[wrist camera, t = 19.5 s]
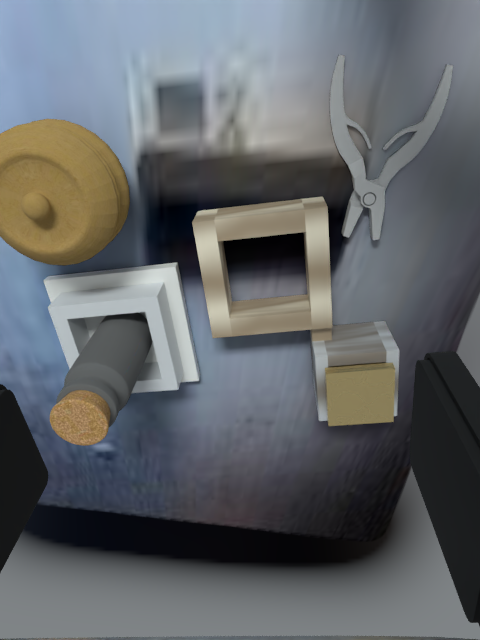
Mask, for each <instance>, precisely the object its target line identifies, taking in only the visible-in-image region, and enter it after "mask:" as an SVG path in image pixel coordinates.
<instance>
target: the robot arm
mask: <svg viewBox="0 0 480 640" xmlns="http://www.w3.org/2000/svg"><path fill="white" fill-rule="evenodd" d="M410 461H411V466H412V469H413V472H414V475H415V477H416V480H417V483H418V486H419V488H420V491H421V494H422V497H423V499H424V502H425V505H426V508H427V510H428V513H429V516H430V519H431V521H432V524H433V527H434V530H435V532H436V535H437V538H438V541H439V544H440V546H441V549H442V552H443V554H444V557H445V560H446V563H447V566H448V568H449V571H450V574H451V577H452V579H453V582H454V585H455V587H456V590H457V593H458V596H459V599H460V601H461V604H462V607H463V610H464V612H465V615H466V617H467V619H468V621H469V622H471V623H476V622H478V623H479V626H480V387H479V386H478V384H477V383H476V382H475V380H474V378H473V377H472V376H471V374H470V373H469V371H468V369H467V368H466V366H465V365H464V363H463V362H462V360H461V359H460V358H459V356H458V354H457V353H456V352H454V351H449V352H435V353H427V354H426V355H425V358H424V360H418V361H417V363H416V369H415V383H414V398H413V412H412V426H411V440H410ZM47 481H48V471H47V468H46V466H45V464H44V461H43V459H42V457H41V455H40V452H39V450H38V448H37V446H36V443H35V441H34V439H33V437H32V434H31V432H30V430H29V428H28V425H27V423H26V421H25V419H24V416H23V414H22V412H21V410H20V407H19V405H18V403H17V401H16V398H15V396H14V394H13V392H12V391H10V390H7V389H6V387H5V386H3V385H1V384H0V572H1V570H2V569H3V567H4V565H5V563H6V561H7V559H8V557H9V555H10V553H11V551H12V550H13V548H14V546H15V544H16V542H17V540H18V538H19V536H20V534H21V533H22V531H23V529H24V527H25V525H26V523H27V521H28V519H29V517H30V515H31V514H32V512H33V510H34V508H35V506H36V504H37V502H38V500H39V499H40V497H41V495H42V493H43V491H44V489H45V487H46V485H47ZM0 640H476V639H460V638H444V637H399V636H392V637H391V636H213V637H212V636H209V637H208V636H207V637H205V636H204V637H111V638H110V637H109V638H107V637H106V638H31V639H30V638H29V639H0Z"/></svg>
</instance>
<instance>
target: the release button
mask: <svg viewBox="0 0 480 640" xmlns="http://www.w3.org/2000/svg"><path fill="white" fill-rule="evenodd" d="M325 383H326V403H327V420H328V426H339V425H354V424H369V423H384V422H394V392H395V367H394V364H393V363H382V362H378V363H365V364H353V365H340V366H328V368H325Z"/></svg>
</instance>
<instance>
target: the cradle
mask: <svg viewBox="0 0 480 640" xmlns="http://www.w3.org/2000/svg"><path fill="white" fill-rule="evenodd" d="M44 284H45V287H46V289H47V292H48V295H49V298H50V301H51V304H50V305H49V306H48V309H49V312H50V315H51V318H52V321H53V323H54V326H55V329H56V332H57V335H58V337H59V340H60V343H61V346H62V349H63V351H64V354H65V357H66V360H67V363H68V365H69V368H71V367H72V365H73V364H74V362H75V361H76V359H77V358H78V356H79V355H80V353H81V352H82V350H83V349H84V347H85V346H86V344H87V343H88V341H89V340H90V338H91V337H92V335H93V333H94V332H95V331H96V329H97V328H98V326H99V325H100V323H101V322H102V320H103V319H104V318H105V317H106V316H107V315H116V314H127V313H137V312H138V313H140V314H142V315H143V316H144V317H145V318H146V319H147V321H148V325H149V329H150V333H151V337H152V341H153V342H152V345H151V348H150V350H149V353H148V355H147V358H146V360H145V362H144V365H143V367H142V369H141V372H140V374H139V377H138V379H137V381H136V384H135V386H134V388H133V391H132V393H141V392H154V391H167V390H179V386H180V383H181V382H191V381H199V378H200V372H199V367H198V362H197V357H196V352H195V347H194V342H193V337H192V332H191V327H190V322H189V317H188V312H187V307H186V302H185V297H184V292H183V287H182V282H181V277H180V272H179V267H178V263H168V264H159V265H149V266H140V267H130V268H121V269H111V270H102V271H92V272H83V273H74V274H64V275H55V276H48V277H47V278H46V279H45V280H44Z"/></svg>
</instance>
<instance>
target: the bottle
mask: <svg viewBox="0 0 480 640" xmlns="http://www.w3.org/2000/svg"><path fill="white" fill-rule="evenodd" d="M152 342H153V341H152V337H151V333H150V329H149V325H148V321H147V319H146V318H145V317H144V316H143V315H142V314H140V313H138V312H137V313H127V314H116V315H107V316H106V317H105V318H104V319H103V320H102V322H101V323H100V325H99V326H98V328H97V329H96V331H95V332H94V333H93V335H92V337H91V338H90V340H89V341H88V343H87V344H86V346H85V347H84V349H83V350H82V352H81V353H80V355H79V356H78V358H77V359H76V361H75V362H74V364H73V365H72V367H71V368H70V370H69V372H68V373H67V375H66V378H65V383H64V387H63V388H62V390H61V391H60V393H59V395H58V397H57V403H56V405H55V406H54V407H53V409H52V411H51V413H50V423H51V426H52V428H53V429H54V431H55V432H56V433H57V434H58V435H59V436H60V437H61V438H63V439H64V440H66V441H68V442H70V443H73V444H77V445H92V444H96V443H98V442H100V441H101V440H102V439H104V437H105V436H106V435H107V432H108V428H109V427H110V426H111V425H112V424H113V423H114V421H115V420H116V418H117V415H118V412H119V411H120V410H121V409H122V408H123V407H124V406H125V405H126V404H127V402H128V400H129V398H130V395H131V393H132V391H133V388H134V386H135V384H136V381H137V379H138V377H139V374H140V372H141V369H142V367H143V365H144V362H145V360H146V358H147V355H148V353H149V350H150V348H151V345H152Z"/></svg>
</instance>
